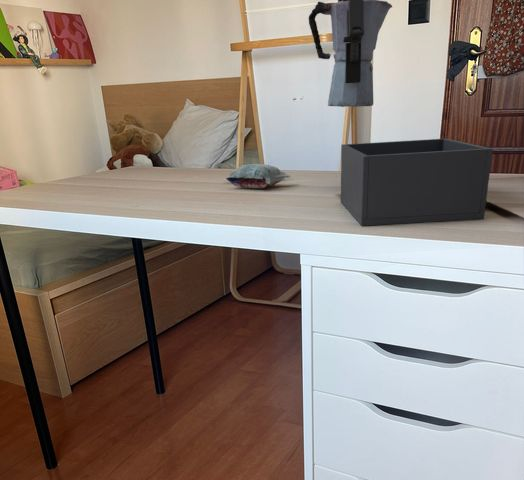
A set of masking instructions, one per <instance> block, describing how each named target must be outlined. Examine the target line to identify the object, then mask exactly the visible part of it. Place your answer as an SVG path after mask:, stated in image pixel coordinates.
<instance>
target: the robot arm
mask: <svg viewBox="0 0 524 480" xmlns="http://www.w3.org/2000/svg"><path fill="white" fill-rule="evenodd" d="M340 1H348V9H349V11H348V10H347V13H346V29H347V37H344V39H343V43H345V42H350V43H346V62H345V83H357V82H360V79H361V42H360V41H361V39H362V36H363V35H364V7H363V0H337V2H340Z"/></svg>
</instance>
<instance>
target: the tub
mask: <svg viewBox="0 0 524 480" xmlns="http://www.w3.org/2000/svg"><path fill="white" fill-rule="evenodd" d="M340 146H341V149H340V203H341V204H342V206H343V207H344V208H345V209H346V210H347V211H348V213H349V214H350V215H351V216H352V217H353V218H354V219H355V220H356V222H357V223H358V224H359V225H360V226H361V227H366V226H367V227H370V226H386V225H387V226H388V225H400V224H401V225H402V224H403V225H405V224H419V223H420V224H422V223H437V222H439V223H440V222H455V221H470V220H474V221H475V220H484V219H485V212H486V205H487V197H488V190H489V183H490V182H489V181H490V174H491V168H492V158H493V151H494V149H493V148H491V147H487V146H483V145H482V146H481V145H477V144H473V143H468V142H464V141H459V140H455V139H450V138H431V139H429V138H428V139H414V140H412V139H411V140H397V141H395V140H394V141H382V142H381V141H380V142H379V141H377V142H362V143H347V144H341V145H340Z"/></svg>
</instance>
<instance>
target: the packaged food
mask: <svg viewBox="0 0 524 480" xmlns="http://www.w3.org/2000/svg"><path fill="white" fill-rule="evenodd" d="M288 178H291V175H289V174H287V172H285V171H283V170H280V169H279V168H278V167H276V166H274V165H270V164H264V163H263V164H261V163H252V164H251V163H249V164H243V165H241V166H238V167H237V168H235V169H234V170H233V171H231V172H230V173H229V174H228V175H227V176H226V178H225V179H226V180H227V181H228V182H229V183H231V185H233V187H239V188H244V189H245V188H246V189H267V188H270V187H272V186H275V185H276V184H279V183H281V182H282V181H283V180H285V179H288Z"/></svg>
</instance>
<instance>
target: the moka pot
mask: <svg viewBox="0 0 524 480" xmlns="http://www.w3.org/2000/svg"><path fill="white" fill-rule="evenodd" d="M363 7H364V35H363V36H362V39H361V41H360V42H361V79H360V82H357V83H345V62H346V43H350V42H345V43H343V39H344V37H347V29H346V13H347V10H348V11H349V9H348V1H340V2H338V1H337V2H324V1H317V3H316V5H315V6H314V8H313V9H312V10H311V13H310V14H309V15H308V26H309V28H310V31H311V35H312V38H313V42H314V45H315V49H316V54H317V58H318V59H322V60H330V58H331V56H332V54H330V53H328V52H327V53H325V52H324V51H323V50H324V49H323V48H322V45H321V39H320V34H319V29H318V25H317V24H318V23H317V20H316V17H317V16H318V15H319V14H322V15H324V16H330V21H331V34H332V49H333V51H334V53H333V59H334V65H333V70H332V75H331V82H330V88H329V95H328V100H327V107H339V108H345V107H352V108H353V107H357V108H358V107H372V106H374V76H373V75H374V74H373V73H374V72H373V70H374V69H373V63H372V61H373V58H374V57H373V56H374V51H375V50H376V49H377V48H376V47H377V42H378V36H379V32H380V30H381V28H382V26H383V24H384V21H385V19H386V17H387V15H388V12H389V11H390V9H391V8H393V5H392V4H391V3H389V2H388V1H387V0H363Z"/></svg>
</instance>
